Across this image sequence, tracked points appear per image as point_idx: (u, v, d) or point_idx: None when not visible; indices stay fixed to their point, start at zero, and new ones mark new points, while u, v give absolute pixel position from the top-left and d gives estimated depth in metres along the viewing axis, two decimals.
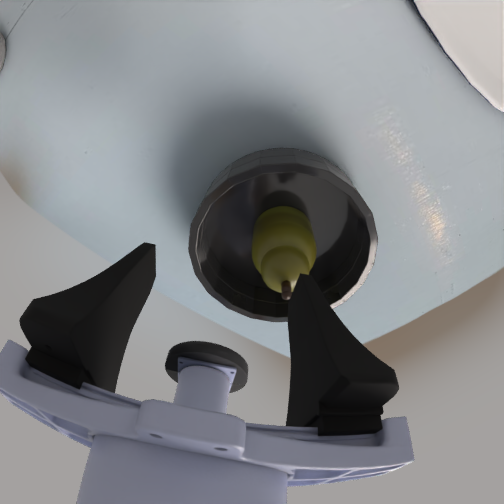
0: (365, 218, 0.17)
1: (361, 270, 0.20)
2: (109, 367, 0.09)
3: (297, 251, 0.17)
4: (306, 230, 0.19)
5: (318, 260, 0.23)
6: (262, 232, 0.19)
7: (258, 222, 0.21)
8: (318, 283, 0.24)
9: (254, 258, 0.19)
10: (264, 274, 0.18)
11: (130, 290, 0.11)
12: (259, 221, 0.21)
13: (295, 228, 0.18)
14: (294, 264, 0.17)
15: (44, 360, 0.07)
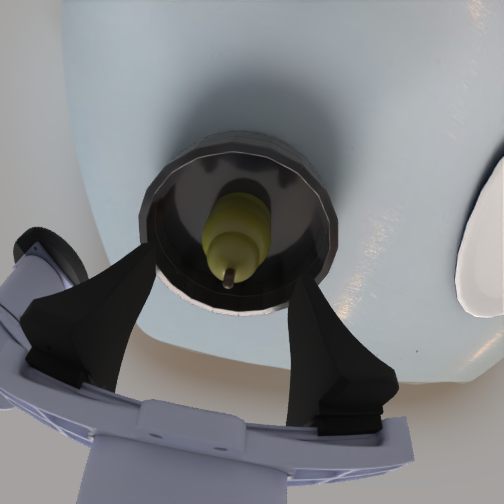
0: (320, 271, 0.19)
1: (274, 302, 0.21)
2: (109, 367, 0.09)
3: (258, 252, 0.17)
4: None
5: None
6: (239, 210, 0.17)
7: (235, 197, 0.19)
8: (222, 281, 0.24)
9: (213, 225, 0.17)
10: (218, 248, 0.16)
11: (130, 290, 0.11)
12: (237, 196, 0.19)
13: (267, 232, 0.18)
14: (250, 262, 0.16)
15: (44, 360, 0.07)
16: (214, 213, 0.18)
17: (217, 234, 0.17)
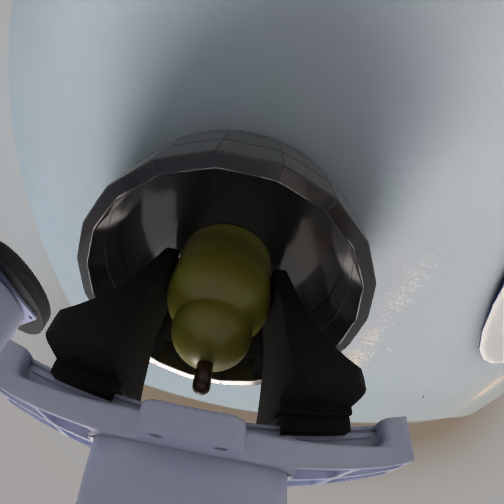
0: (337, 344, 0.13)
1: None
2: (137, 376, 0.09)
3: (251, 331, 0.10)
4: None
5: None
6: (224, 261, 0.11)
7: (220, 233, 0.12)
8: None
9: (182, 283, 0.11)
10: (186, 328, 0.09)
11: (157, 297, 0.11)
12: (222, 232, 0.12)
13: (266, 294, 0.11)
14: (238, 350, 0.10)
15: (72, 372, 0.07)
16: (185, 260, 0.11)
17: (187, 300, 0.10)
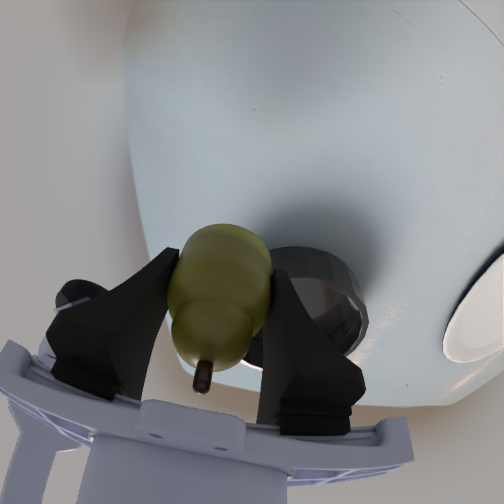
0: (349, 349, 0.25)
1: None
2: (137, 376, 0.09)
3: (251, 331, 0.10)
4: (270, 304, 0.12)
5: None
6: (224, 261, 0.11)
7: (220, 233, 0.12)
8: None
9: (182, 282, 0.11)
10: (186, 328, 0.09)
11: (157, 297, 0.11)
12: (223, 232, 0.12)
13: (266, 294, 0.11)
14: (238, 350, 0.10)
15: (72, 372, 0.07)
16: (185, 260, 0.11)
17: (187, 299, 0.10)
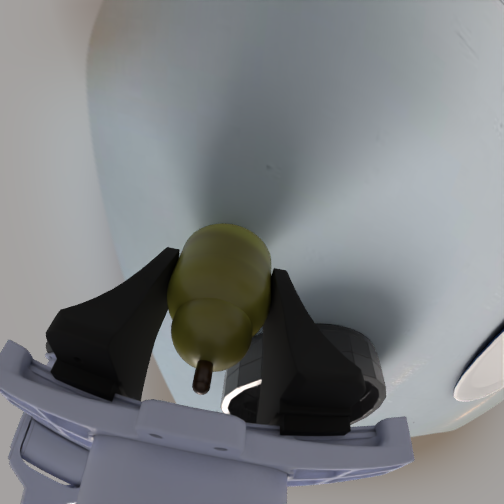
0: (361, 416, 0.21)
1: None
2: (137, 376, 0.09)
3: (251, 331, 0.10)
4: (270, 303, 0.12)
5: None
6: (224, 261, 0.11)
7: (220, 233, 0.12)
8: None
9: (182, 282, 0.11)
10: (186, 328, 0.09)
11: (157, 297, 0.11)
12: (223, 232, 0.12)
13: (266, 294, 0.11)
14: (238, 350, 0.10)
15: (72, 372, 0.07)
16: (185, 260, 0.11)
17: (187, 299, 0.10)
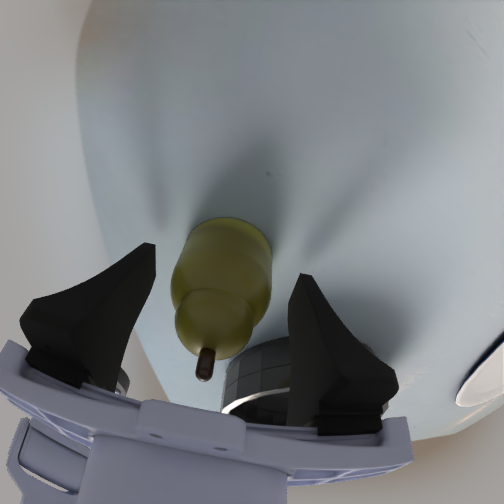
0: None
1: None
2: (109, 367, 0.09)
3: (252, 320, 0.11)
4: None
5: None
6: (226, 252, 0.11)
7: (222, 226, 0.13)
8: (275, 414, 0.25)
9: (185, 273, 0.11)
10: (189, 316, 0.10)
11: (130, 290, 0.11)
12: (225, 226, 0.13)
13: (267, 285, 0.12)
14: (240, 338, 0.10)
15: (44, 360, 0.07)
16: (188, 252, 0.12)
17: (190, 289, 0.11)
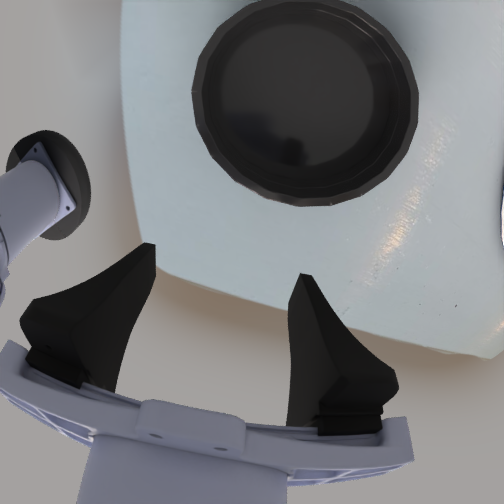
0: (399, 150, 0.15)
1: (343, 190, 0.17)
2: (109, 367, 0.09)
3: None
4: None
5: (298, 153, 0.19)
6: None
7: None
8: (272, 174, 0.19)
9: None
10: None
11: (130, 290, 0.11)
12: None
13: None
14: None
15: (44, 360, 0.07)
16: None
17: None
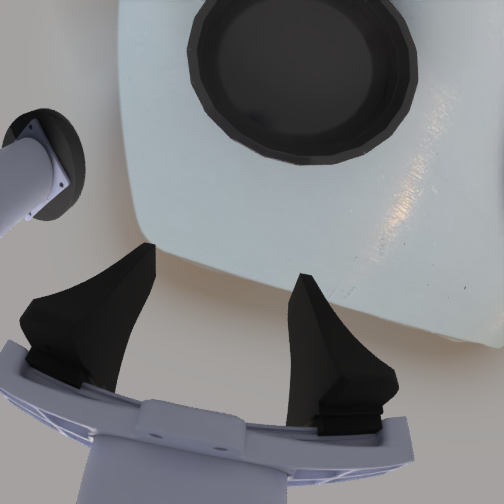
0: (401, 107, 0.13)
1: (346, 148, 0.15)
2: (109, 367, 0.09)
3: None
4: None
5: (297, 116, 0.17)
6: None
7: None
8: (270, 138, 0.18)
9: None
10: None
11: (130, 290, 0.11)
12: None
13: None
14: None
15: (44, 360, 0.07)
16: None
17: None
